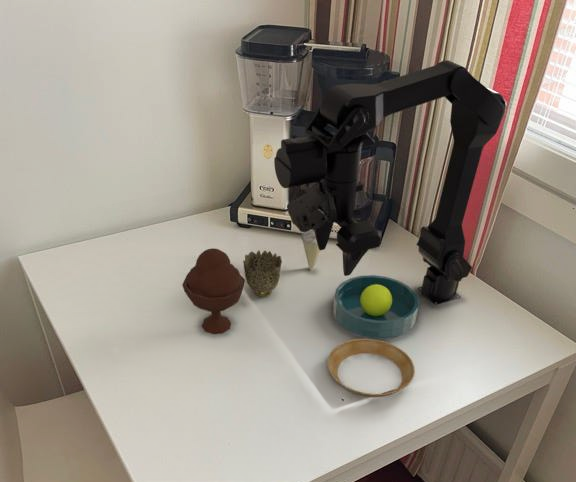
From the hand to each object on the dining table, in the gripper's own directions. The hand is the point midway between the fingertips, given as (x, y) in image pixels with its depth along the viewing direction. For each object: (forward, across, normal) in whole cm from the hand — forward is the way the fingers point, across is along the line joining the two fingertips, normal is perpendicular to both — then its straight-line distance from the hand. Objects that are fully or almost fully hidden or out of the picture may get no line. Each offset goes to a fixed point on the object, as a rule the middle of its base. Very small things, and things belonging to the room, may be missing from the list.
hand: (334, 262), depth 107 cm
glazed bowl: (+14, +1, +9) cm, 17 cm away
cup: (+14, -14, -8) cm, 21 cm away
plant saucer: (+14, +16, -1) cm, 21 cm away
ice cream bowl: (+14, -8, -20) cm, 25 cm away
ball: (+13, +1, +9) cm, 16 cm away
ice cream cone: (+14, -18, +5) cm, 24 cm away
